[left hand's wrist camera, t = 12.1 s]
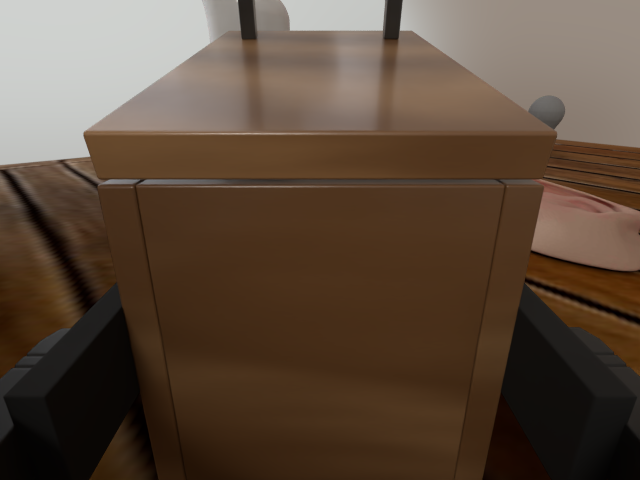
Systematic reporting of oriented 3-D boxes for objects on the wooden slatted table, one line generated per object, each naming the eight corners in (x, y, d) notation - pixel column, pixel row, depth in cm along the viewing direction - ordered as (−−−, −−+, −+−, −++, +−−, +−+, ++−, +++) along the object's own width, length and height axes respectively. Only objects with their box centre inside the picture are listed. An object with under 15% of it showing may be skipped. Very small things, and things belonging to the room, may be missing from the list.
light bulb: (528, 153, 75) (539, 96, 72) (516, 147, 81) (526, 94, 77) (562, 153, 75) (574, 96, 71) (548, 148, 80) (559, 95, 77)
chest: (246, 286, 28) (233, 118, 24) (393, 286, 28) (406, 118, 24) (165, 518, 13) (94, 184, 9) (474, 518, 13) (545, 185, 9)
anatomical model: (699, 226, 27) (509, 207, 31) (679, 280, 28) (500, 255, 32) (636, 181, 38) (504, 172, 42) (624, 221, 40) (498, 208, 43)
